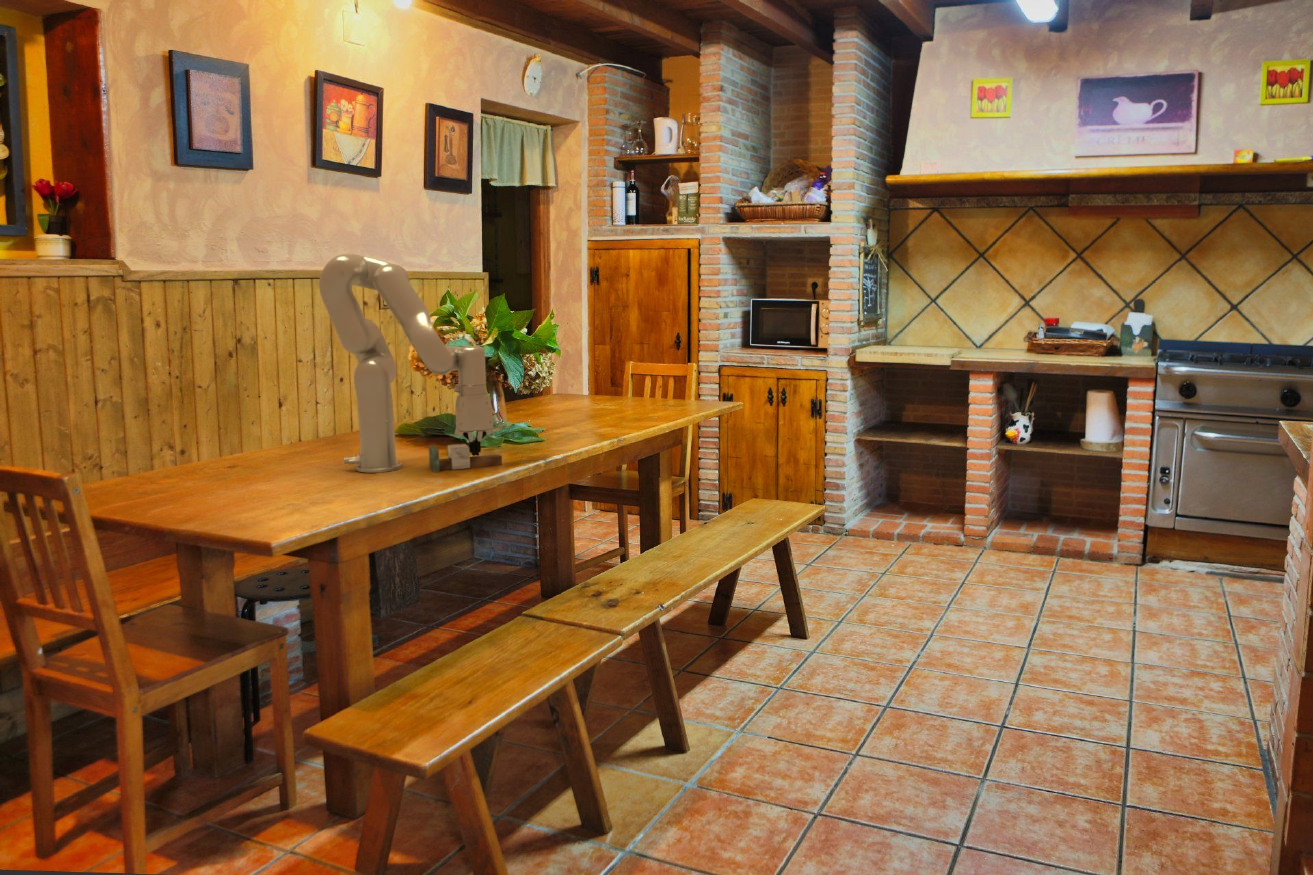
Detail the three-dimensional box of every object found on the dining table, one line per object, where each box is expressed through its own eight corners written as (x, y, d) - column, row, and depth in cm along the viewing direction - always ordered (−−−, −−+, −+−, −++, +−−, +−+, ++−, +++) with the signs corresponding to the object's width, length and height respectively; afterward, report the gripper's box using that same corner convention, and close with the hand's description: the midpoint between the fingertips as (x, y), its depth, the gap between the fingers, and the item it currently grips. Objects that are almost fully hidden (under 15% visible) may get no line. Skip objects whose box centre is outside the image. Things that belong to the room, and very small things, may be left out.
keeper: (452, 469, 288) (451, 449, 287) (448, 465, 294) (447, 445, 293) (470, 468, 290) (469, 447, 289) (465, 463, 296) (465, 443, 295)
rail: (434, 472, 286) (433, 450, 285) (429, 466, 293) (428, 445, 292) (504, 466, 292) (503, 445, 291) (498, 461, 300) (497, 440, 299)
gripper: (448, 393, 284) (450, 459, 287) (501, 390, 289) (504, 455, 292) (443, 390, 291) (446, 454, 294) (496, 387, 296) (498, 450, 299)
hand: (475, 454), depth 293 cm, fingers closed
